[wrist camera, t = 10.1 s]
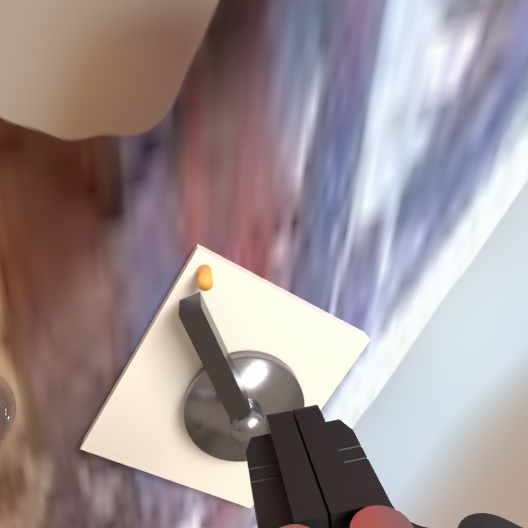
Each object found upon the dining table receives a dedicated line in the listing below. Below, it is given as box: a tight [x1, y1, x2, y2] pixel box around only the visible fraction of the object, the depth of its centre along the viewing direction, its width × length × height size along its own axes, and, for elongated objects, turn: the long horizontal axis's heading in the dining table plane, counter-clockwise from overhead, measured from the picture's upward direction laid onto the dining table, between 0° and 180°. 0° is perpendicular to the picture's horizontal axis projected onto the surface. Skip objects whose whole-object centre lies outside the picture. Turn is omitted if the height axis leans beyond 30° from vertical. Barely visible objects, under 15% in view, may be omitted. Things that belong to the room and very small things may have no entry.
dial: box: [179, 292, 304, 462], centre depth 38 cm, size 18×11×4 cm, turn 21°
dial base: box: [80, 244, 370, 508], centre depth 41 cm, size 22×18×4 cm
